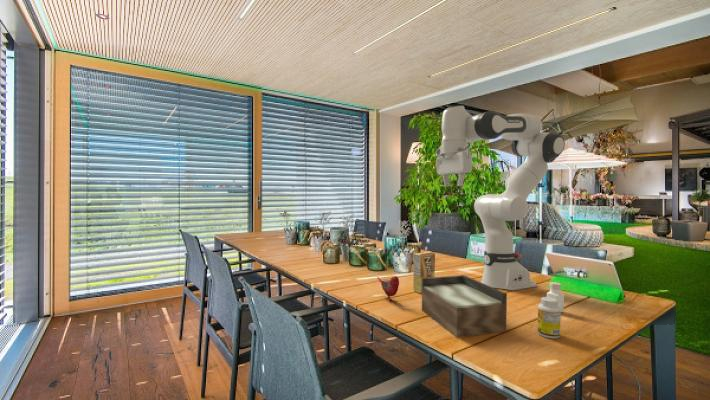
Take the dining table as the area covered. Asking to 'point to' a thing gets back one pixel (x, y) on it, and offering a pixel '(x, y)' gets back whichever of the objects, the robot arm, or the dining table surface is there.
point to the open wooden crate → (464, 305)
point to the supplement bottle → (549, 318)
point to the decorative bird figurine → (390, 286)
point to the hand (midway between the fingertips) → (453, 186)
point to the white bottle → (556, 294)
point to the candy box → (423, 269)
